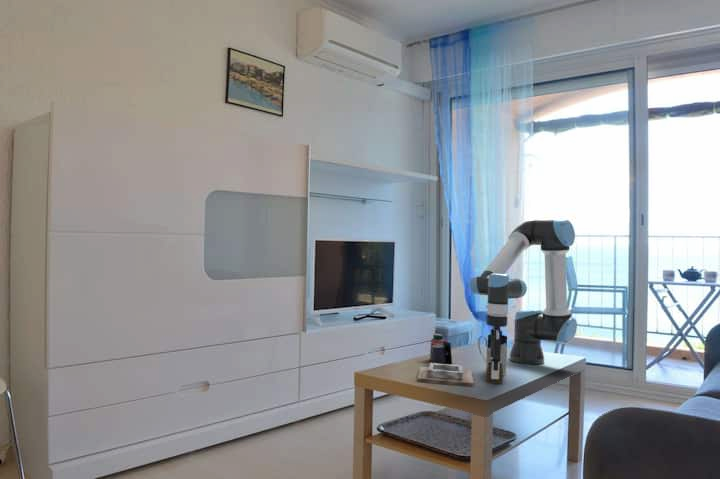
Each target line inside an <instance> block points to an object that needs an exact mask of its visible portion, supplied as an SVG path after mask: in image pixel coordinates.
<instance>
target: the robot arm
mask: <svg viewBox="0 0 720 479" xmlns="http://www.w3.org/2000/svg"><path fill="white" fill-rule="evenodd" d="M575 239H576V232H575V228H574V226H573V224H572V221H570V220H569V219H567V218H560V217H555V218H554V217H553V218H552V217H551V218H537V217H536V218H531V219H528V220H526V221H524V222H522V223H521V224H520V225H518V226H516V227H515V228H514V230H513V231H512V232H511V233H510V234H509V235H508V240H507V241H506V243H505V244H504V246H502V248H501V249H500V250H499V252H498V253H497V254H496V255H495V257H494V258H493V259H492V260H491V262H490V263H488V265H487V267H486V268H485V269H484V270H483V271H482V273H481V274H479V275H473V276H471V278H470V279H469V282H468V287H469V290H470V291H471V293H472V294H475V295H479V296H487V305H485V308H486V313H487V315H486V323H485V324H486V325H487V326H491V327H492V328H491V329H490V334H491V352H490V354H491V360H490V362H492V370H491V379H499V365H500V360H501V359H500V352H501V336H502V335H503V331H502V330H501V327H502V328H503V327H505V328H506V327H507V325H508V316H507V315H508V314H509V299H515V300H516V299H517V300H518V299H520V298H523V297H524V296H525V295H526V294H527V289H528V288H527V287H528V286H527V284H526V282H525V281H524V280H523V279H520V278H510V276H509V275H508V274H507V273H508V271H509V270H510V268H511V267H512V266H513V264H514V263H515V262H516V260H517V259H518V258H519V257H520V255H521V254H522V253H523V252H524V251H527V250H528V249H529V247H531V246H540V251H541V252H542V253H544V275H545V276H544V279H545V285H544V286H545V309H543V310H542V309H523V310H518V311H515V316H514V333H513V334H514V336H513V343H512V345H511V346H512V347H511V349H510V352H509V358H508V360H510V361H512V362H515V363H519V364H526V365H541V364H544V363H545V356H544V352H543V349H542V341H544V342H545V341H546V342H551V343H556V344H564V345H568V344H570V343H571V342H572V341H573V339H575V336H576V333H577V328H578V322H577V319H576V318H575V317H572V312H571V311H570V310H569V309H568V293H567V292H568V290H567V286H568V284H567V283H568V282H567V253H568V252H569V251H570V247H571V246H572V245H574V243H575Z"/></svg>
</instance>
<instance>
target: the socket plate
mask: <svg viewBox="0 0 720 479" xmlns="http://www.w3.org/2000/svg"><path fill="white" fill-rule="evenodd" d="M417 382H420V383H431V384H441V385H452V386H453V385H455V386H463V387H466V386H467V387H474V379H473V373H472V370H467V369H463V365H458V364H452V365H448V364H437V363H433V362H429V366H420V367H419V372H418V375H417Z"/></svg>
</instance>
